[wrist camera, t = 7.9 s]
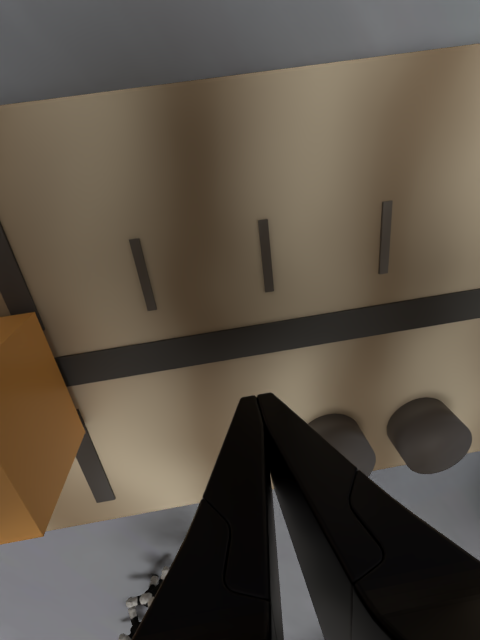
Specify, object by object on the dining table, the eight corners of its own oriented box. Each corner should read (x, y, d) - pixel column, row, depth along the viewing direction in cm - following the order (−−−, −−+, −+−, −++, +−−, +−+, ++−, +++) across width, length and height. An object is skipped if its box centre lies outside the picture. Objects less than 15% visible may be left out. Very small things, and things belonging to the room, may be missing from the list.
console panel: (540, 47, 11) (670, 6, 8) (463, 420, 18) (518, 474, 15) (-225, 147, 10) (-407, 144, 7) (2, 503, 17) (-41, 580, 14)
